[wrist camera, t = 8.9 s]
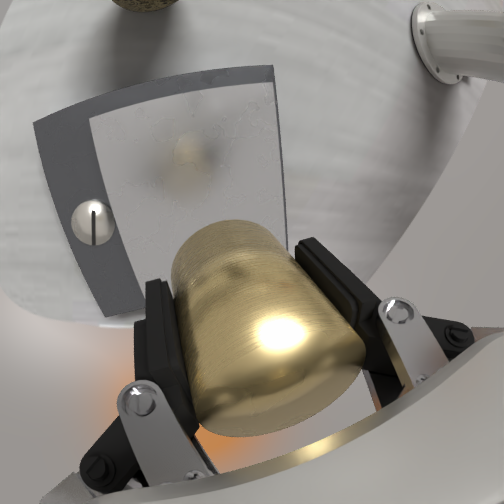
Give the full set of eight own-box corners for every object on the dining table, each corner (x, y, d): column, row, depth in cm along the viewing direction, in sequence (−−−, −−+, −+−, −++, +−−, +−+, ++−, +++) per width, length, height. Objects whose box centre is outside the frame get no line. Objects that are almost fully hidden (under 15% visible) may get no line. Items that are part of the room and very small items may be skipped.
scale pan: (267, 83, 17) (272, 82, 16) (282, 263, 25) (287, 269, 24) (92, 118, 14) (88, 118, 13) (148, 299, 22) (148, 307, 21)
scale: (255, 70, 20) (275, 64, 17) (273, 248, 30) (291, 271, 26) (51, 119, 17) (30, 123, 13) (109, 291, 26) (104, 320, 22)
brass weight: (279, 207, 11) (381, 301, 6) (285, 300, 13) (350, 399, 8) (156, 237, 10) (167, 373, 5) (187, 329, 12) (218, 449, 7)
